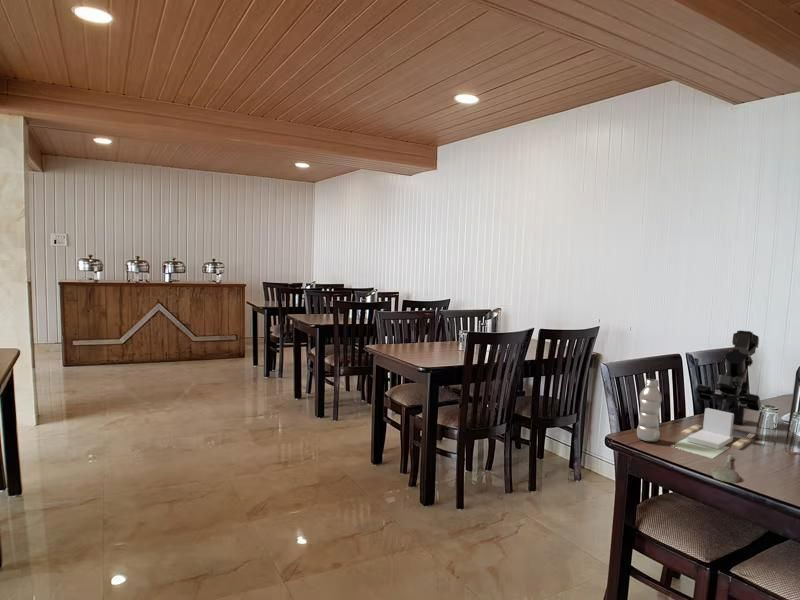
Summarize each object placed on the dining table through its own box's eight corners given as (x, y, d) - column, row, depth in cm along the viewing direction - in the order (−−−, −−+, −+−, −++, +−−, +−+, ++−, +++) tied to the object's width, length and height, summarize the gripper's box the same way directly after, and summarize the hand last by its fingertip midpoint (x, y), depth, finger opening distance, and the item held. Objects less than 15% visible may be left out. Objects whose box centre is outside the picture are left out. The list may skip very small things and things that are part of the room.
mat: (688, 437, 171) (688, 436, 171) (729, 447, 162) (729, 447, 162) (670, 447, 161) (670, 446, 161) (712, 459, 152) (712, 458, 152)
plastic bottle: (662, 444, 162) (668, 383, 161) (641, 443, 163) (646, 381, 161) (653, 437, 169) (658, 378, 167) (632, 436, 169) (637, 377, 168)
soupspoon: (708, 481, 138) (737, 490, 134) (710, 470, 137) (739, 478, 133) (718, 456, 155) (744, 463, 151) (720, 446, 154) (745, 452, 150)
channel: (695, 427, 183) (695, 424, 183) (751, 441, 170) (751, 437, 170) (680, 434, 173) (681, 431, 173) (738, 450, 161) (739, 446, 161)
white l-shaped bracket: (703, 433, 177) (705, 407, 176) (733, 440, 170) (735, 414, 170) (686, 440, 166) (689, 413, 165) (718, 449, 159) (721, 420, 159)
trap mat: (705, 423, 189) (705, 422, 189) (756, 435, 177) (756, 434, 177) (699, 426, 184) (699, 425, 184) (751, 439, 172) (751, 438, 172)
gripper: (699, 361, 183) (686, 396, 176) (762, 371, 169) (749, 409, 162) (705, 381, 188) (691, 415, 182) (765, 392, 175) (753, 429, 168)
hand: (720, 416), depth 173 cm, fingers closed, pressing on white l-shaped bracket
